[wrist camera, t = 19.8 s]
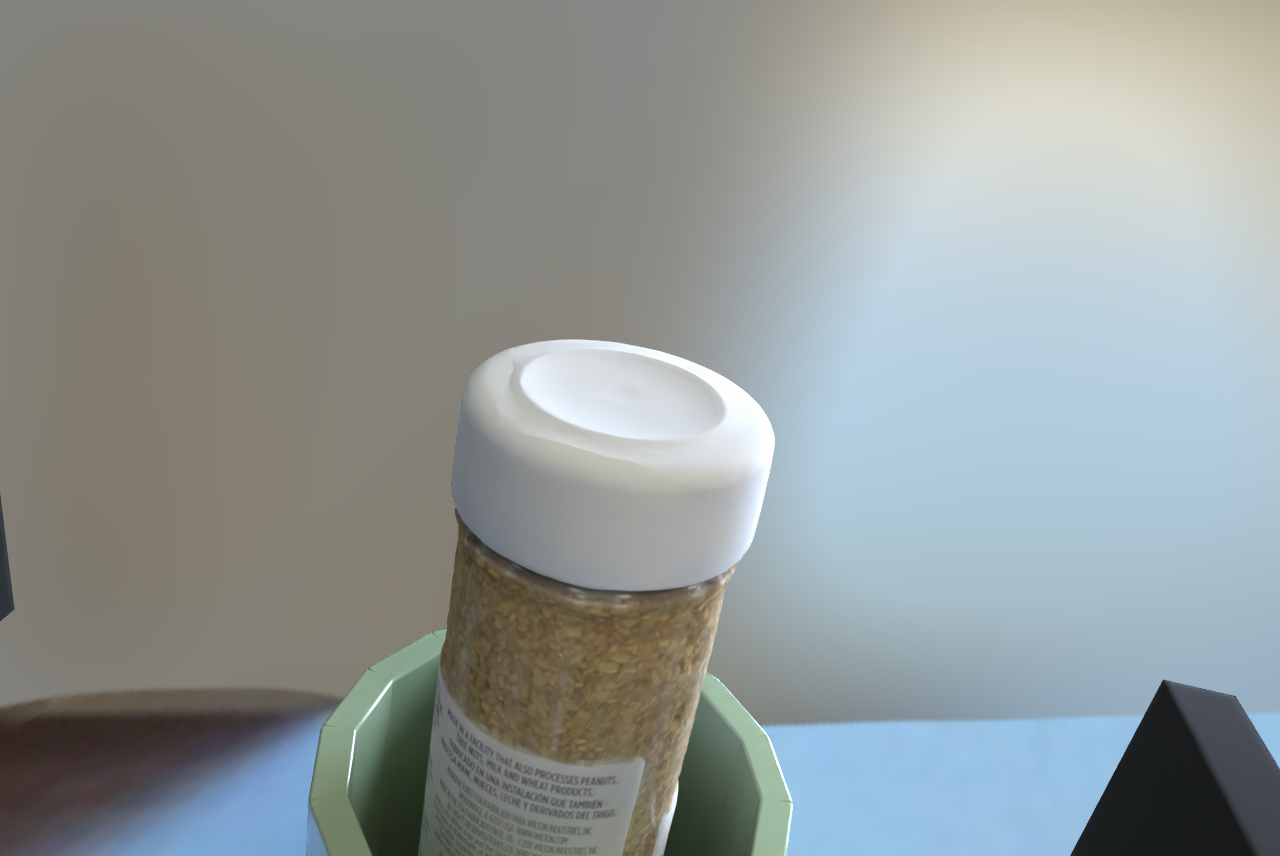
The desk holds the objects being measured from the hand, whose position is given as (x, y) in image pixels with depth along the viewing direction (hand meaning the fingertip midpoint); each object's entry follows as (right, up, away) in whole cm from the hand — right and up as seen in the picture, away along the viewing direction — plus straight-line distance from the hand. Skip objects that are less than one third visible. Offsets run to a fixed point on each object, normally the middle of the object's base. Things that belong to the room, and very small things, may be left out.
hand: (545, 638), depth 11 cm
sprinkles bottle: (-2, -9, +9) cm, 13 cm away
